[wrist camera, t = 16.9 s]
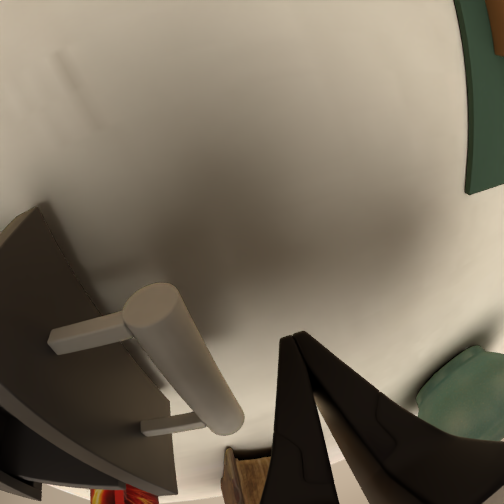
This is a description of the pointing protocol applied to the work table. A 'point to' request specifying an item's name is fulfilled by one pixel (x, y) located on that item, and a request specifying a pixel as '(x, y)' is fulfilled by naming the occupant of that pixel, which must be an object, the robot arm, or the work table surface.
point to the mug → (122, 496)
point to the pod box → (496, 24)
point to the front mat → (482, 98)
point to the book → (243, 479)
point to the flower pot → (467, 396)
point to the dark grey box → (20, 486)
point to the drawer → (95, 375)
